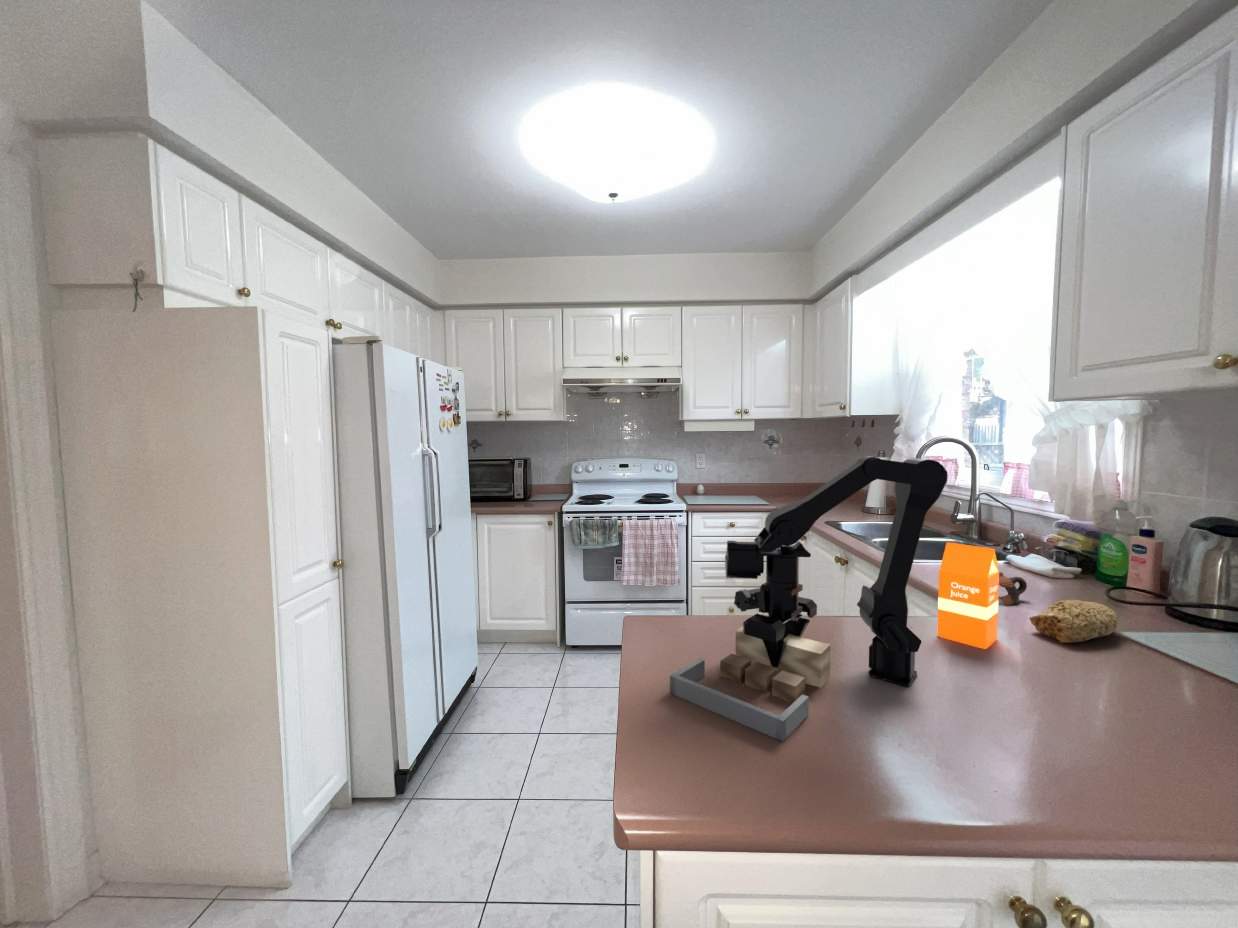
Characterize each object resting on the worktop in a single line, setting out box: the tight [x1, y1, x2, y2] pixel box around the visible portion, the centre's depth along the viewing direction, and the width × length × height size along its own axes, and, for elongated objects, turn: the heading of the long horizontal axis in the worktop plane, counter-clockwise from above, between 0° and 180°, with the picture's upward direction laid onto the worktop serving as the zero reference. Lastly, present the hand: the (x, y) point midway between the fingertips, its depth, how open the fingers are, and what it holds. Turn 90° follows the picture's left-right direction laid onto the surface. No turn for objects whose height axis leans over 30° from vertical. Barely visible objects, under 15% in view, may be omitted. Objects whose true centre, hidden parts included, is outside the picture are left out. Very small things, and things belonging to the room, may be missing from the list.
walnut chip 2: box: [771, 670, 806, 703], centre depth 83 cm, size 4×4×3 cm
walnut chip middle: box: [744, 662, 777, 694], centre depth 87 cm, size 4×4×3 cm
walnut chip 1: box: [719, 653, 751, 684], centre depth 90 cm, size 4×4×3 cm
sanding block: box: [735, 626, 831, 689], centre depth 92 cm, size 16×5×6 cm, turn 50°
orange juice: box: [937, 541, 1000, 650], centre depth 106 cm, size 8×9×20 cm
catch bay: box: [669, 658, 810, 742], centre depth 80 cm, size 20×9×3 cm, turn 47°
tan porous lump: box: [1028, 599, 1119, 644], centre depth 109 cm, size 13×8×20 cm
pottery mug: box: [999, 571, 1028, 606], centre depth 131 cm, size 12×10×8 cm
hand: (781, 661), depth 92 cm, fingers open, 5 cm apart
